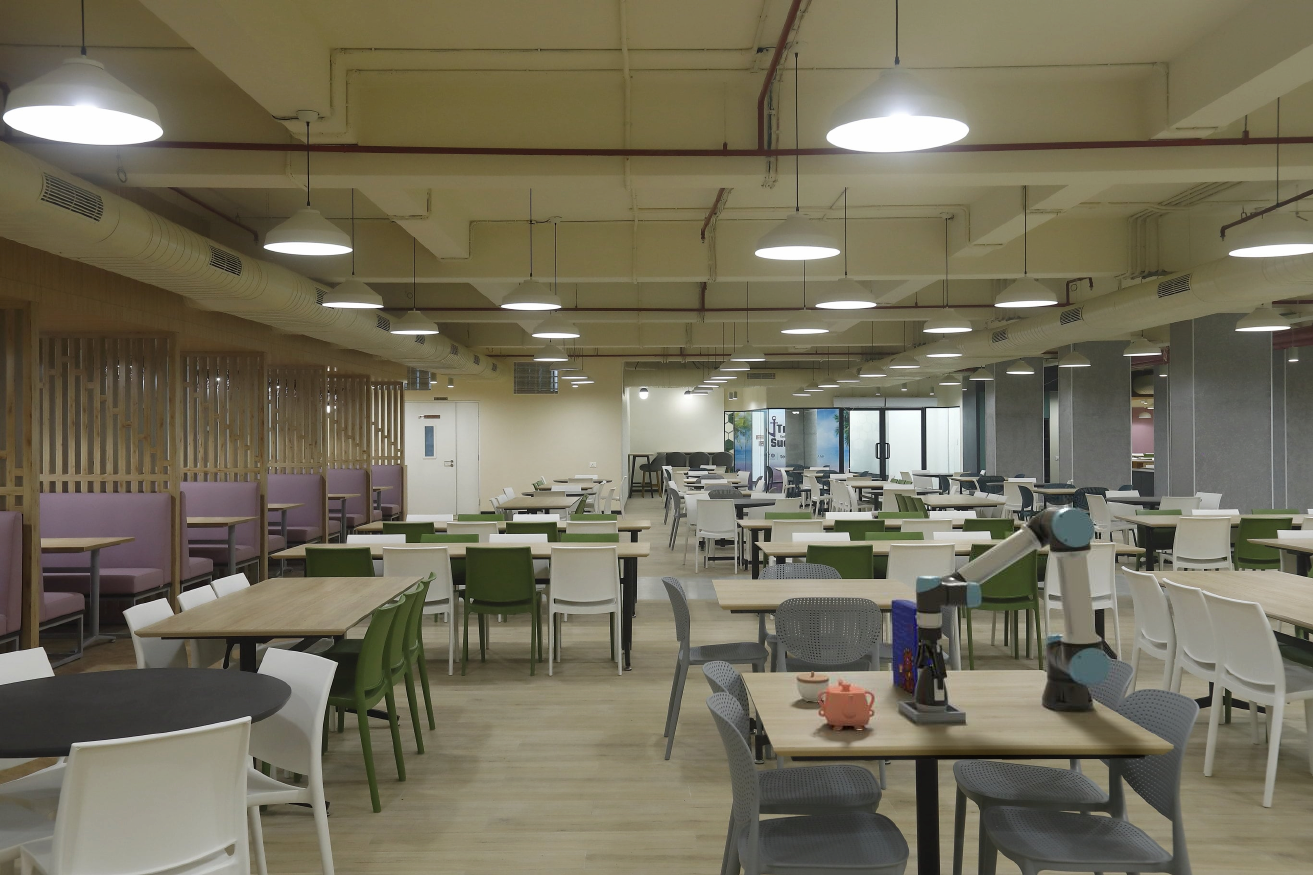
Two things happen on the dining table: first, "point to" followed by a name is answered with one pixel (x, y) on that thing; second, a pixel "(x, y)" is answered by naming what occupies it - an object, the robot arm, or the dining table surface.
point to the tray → (932, 714)
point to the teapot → (846, 705)
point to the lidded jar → (812, 685)
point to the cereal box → (905, 644)
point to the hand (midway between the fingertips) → (930, 694)
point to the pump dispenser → (929, 693)
